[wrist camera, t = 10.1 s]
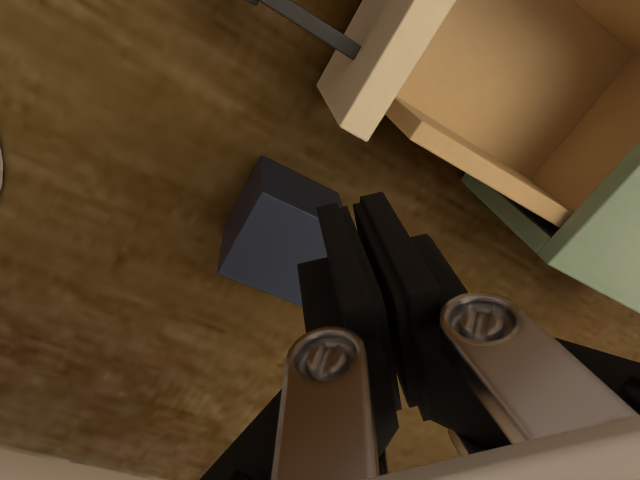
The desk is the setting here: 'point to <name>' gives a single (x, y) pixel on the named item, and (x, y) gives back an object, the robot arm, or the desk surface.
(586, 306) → the desk surface
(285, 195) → the block
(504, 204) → the cabinet
